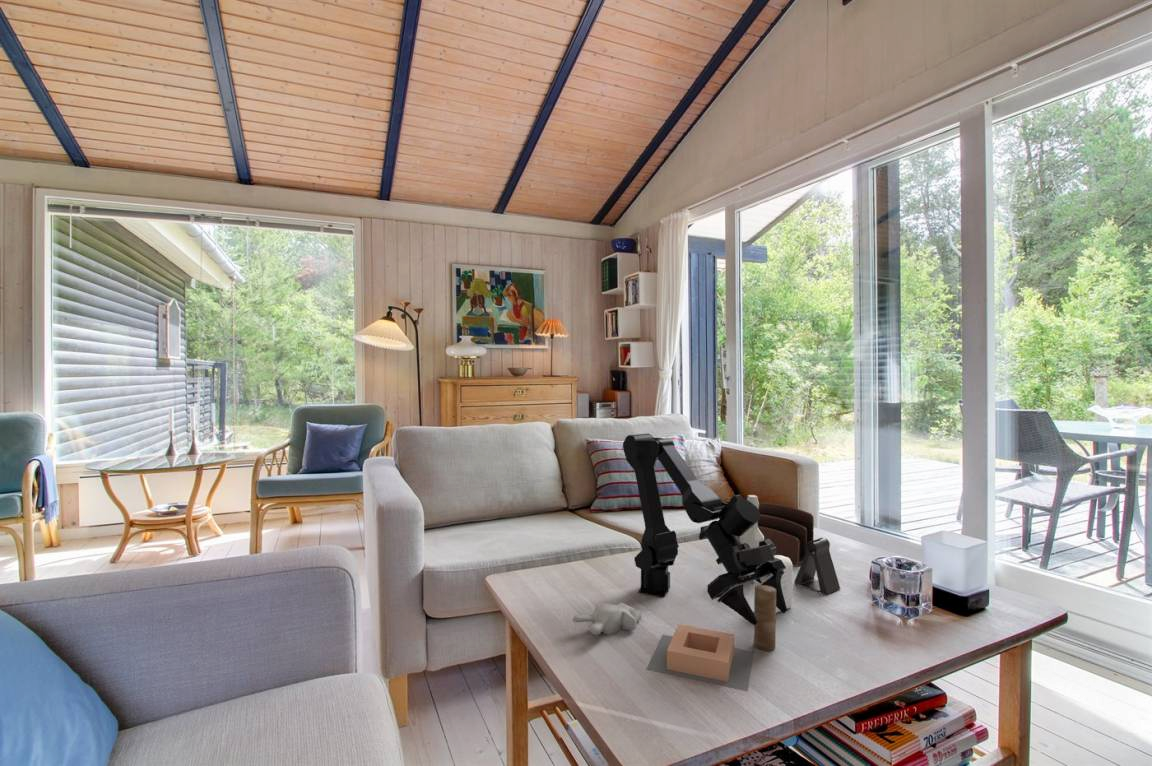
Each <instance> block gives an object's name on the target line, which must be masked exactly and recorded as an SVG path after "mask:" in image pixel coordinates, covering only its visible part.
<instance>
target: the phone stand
mask: <svg viewBox="0 0 1152 766" xmlns="http://www.w3.org/2000/svg"><path fill="white" fill-rule="evenodd" d="M830 547H831V543H830V541H829V540H828V538H823V537H820V538H817V539H813V541H810V542H808V543H807V544H806V554H805V556H804V559H803V561H802V564H801V565H800V567H799V570H798V571H797V574H796V577H795V579H794V581H793V582H794V583H793V584H795V585H797V584H799V585H798V586H800V585H801V586H800V587H803V586H804V587H803V588H806V587H807V588H806V589H808V588H810V589H809V590H811V589H812V590H811V591H814V590H815V591H814V592H816V591H817V593H819V592H821V593H820V594H822V593H823V595H825V594H826V595H825V596H828V595H829V594H832V593H834V592H836V591H838V590H841V585H840V583H839V579H838V576H837V573H836V569H835V566H834V562H833V559H832V556H831V552H830ZM815 576H816V577H817V579H815Z"/></svg>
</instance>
